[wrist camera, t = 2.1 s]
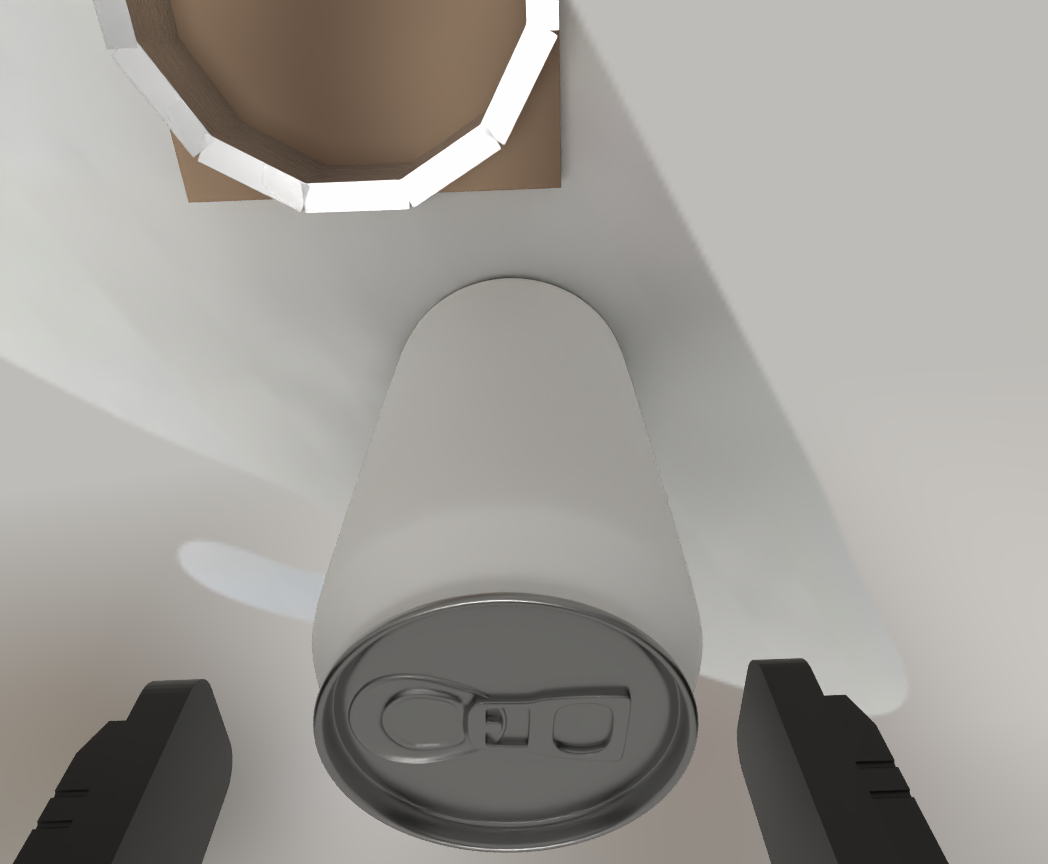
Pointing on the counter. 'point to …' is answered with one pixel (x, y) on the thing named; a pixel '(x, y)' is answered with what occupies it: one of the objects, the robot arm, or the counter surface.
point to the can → (508, 589)
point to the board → (370, 83)
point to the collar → (281, 171)
